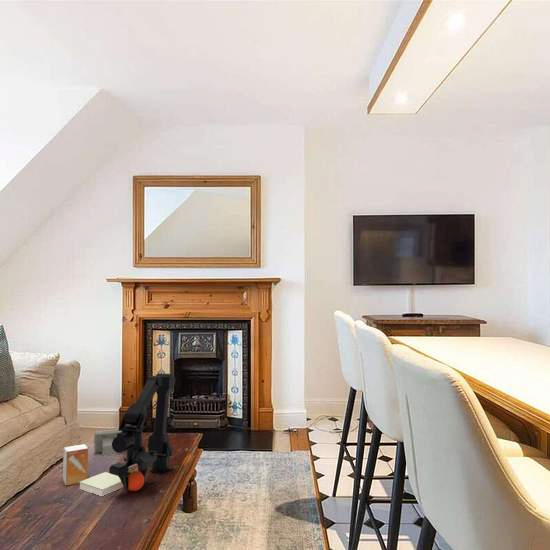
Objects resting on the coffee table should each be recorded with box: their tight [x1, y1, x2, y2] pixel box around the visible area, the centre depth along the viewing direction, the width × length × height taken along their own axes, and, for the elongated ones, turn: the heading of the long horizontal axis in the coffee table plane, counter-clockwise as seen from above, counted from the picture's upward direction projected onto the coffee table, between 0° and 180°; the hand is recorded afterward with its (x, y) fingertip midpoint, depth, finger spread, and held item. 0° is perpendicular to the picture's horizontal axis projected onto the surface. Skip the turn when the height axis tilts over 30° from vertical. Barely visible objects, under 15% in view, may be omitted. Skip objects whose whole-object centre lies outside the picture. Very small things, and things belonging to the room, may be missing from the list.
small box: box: [62, 443, 89, 486], centre depth 189 cm, size 8×6×13 cm
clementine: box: [128, 470, 145, 492], centre depth 180 cm, size 8×7×7 cm
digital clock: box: [93, 428, 124, 457], centre depth 222 cm, size 16×9×11 cm, turn 98°
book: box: [79, 471, 124, 497], centre depth 182 cm, size 12×13×3 cm
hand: (134, 486), depth 180 cm, fingers closed on clementine, 7 cm apart
